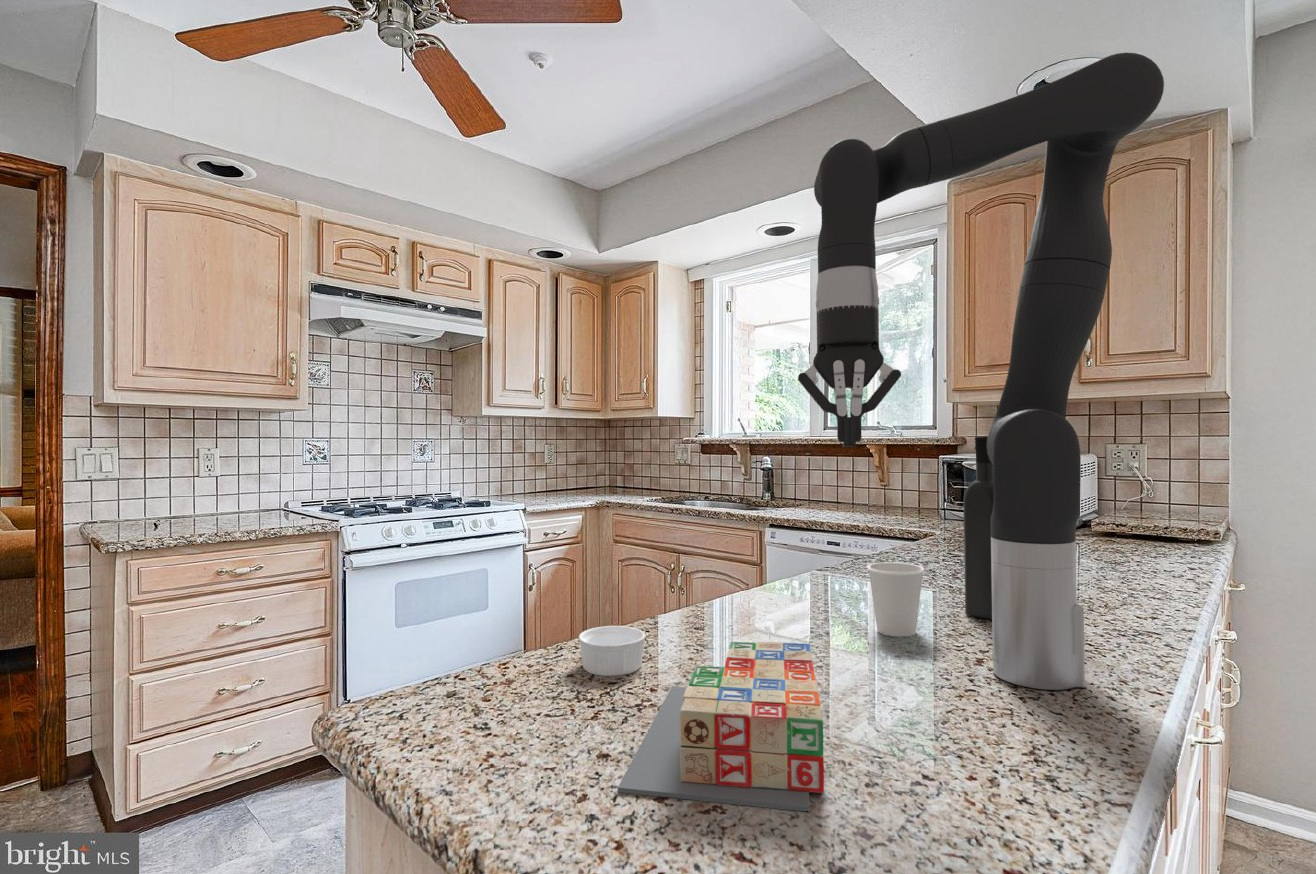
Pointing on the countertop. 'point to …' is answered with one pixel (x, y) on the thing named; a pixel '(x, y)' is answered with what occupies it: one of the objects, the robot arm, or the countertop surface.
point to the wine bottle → (979, 536)
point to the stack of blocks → (754, 720)
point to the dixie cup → (896, 596)
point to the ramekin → (612, 650)
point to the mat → (661, 769)
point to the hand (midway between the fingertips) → (849, 446)
